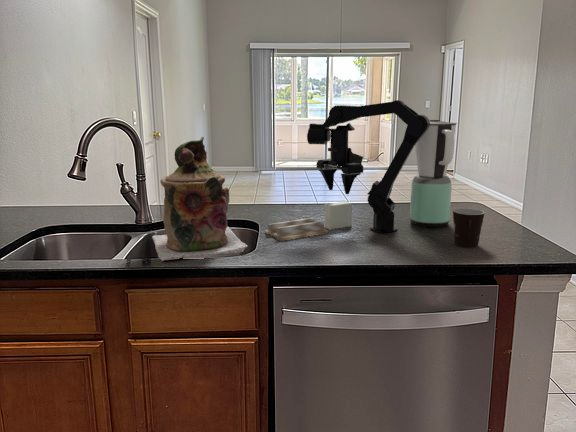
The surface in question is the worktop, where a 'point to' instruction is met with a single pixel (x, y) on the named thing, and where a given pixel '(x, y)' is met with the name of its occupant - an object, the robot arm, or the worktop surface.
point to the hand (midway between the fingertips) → (338, 192)
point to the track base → (296, 229)
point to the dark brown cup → (467, 227)
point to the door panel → (338, 215)
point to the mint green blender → (433, 176)
